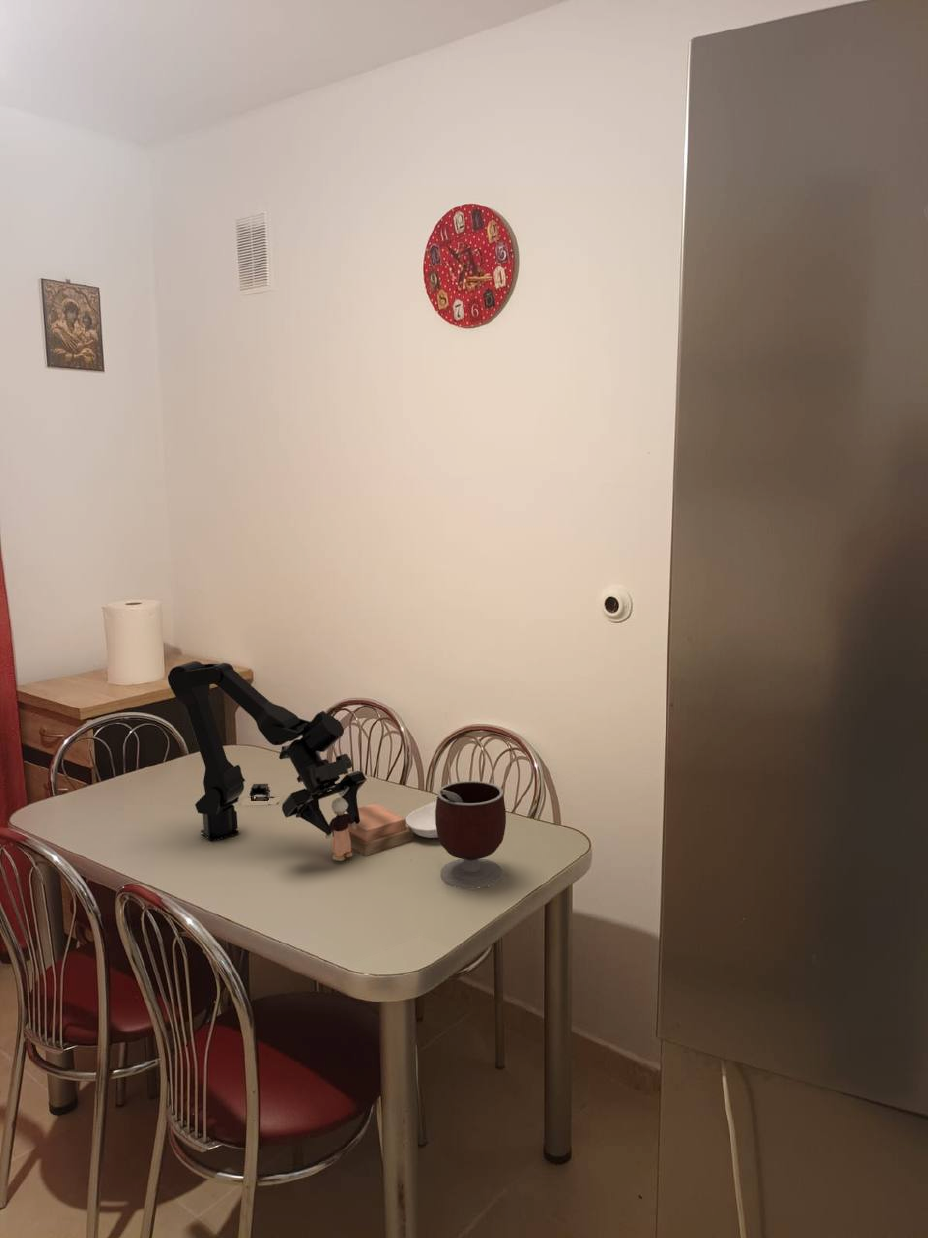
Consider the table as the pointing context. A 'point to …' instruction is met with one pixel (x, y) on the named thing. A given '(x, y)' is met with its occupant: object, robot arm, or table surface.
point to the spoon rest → (423, 821)
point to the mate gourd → (470, 831)
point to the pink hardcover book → (378, 830)
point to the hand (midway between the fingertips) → (344, 828)
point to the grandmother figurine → (341, 830)
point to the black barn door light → (260, 792)
